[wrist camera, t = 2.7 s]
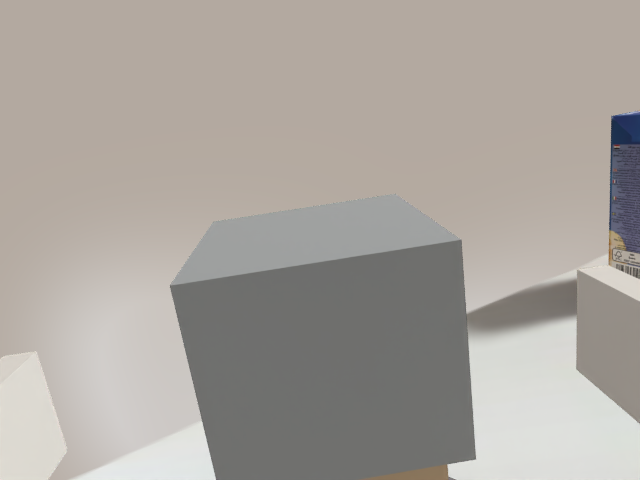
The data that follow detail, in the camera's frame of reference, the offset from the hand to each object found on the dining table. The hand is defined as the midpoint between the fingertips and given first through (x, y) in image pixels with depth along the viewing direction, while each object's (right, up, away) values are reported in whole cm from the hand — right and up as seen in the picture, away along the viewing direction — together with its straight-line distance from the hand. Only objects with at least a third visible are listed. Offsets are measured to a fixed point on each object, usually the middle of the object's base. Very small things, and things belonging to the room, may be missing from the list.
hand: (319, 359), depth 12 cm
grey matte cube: (+1, -5, +12) cm, 13 cm away
